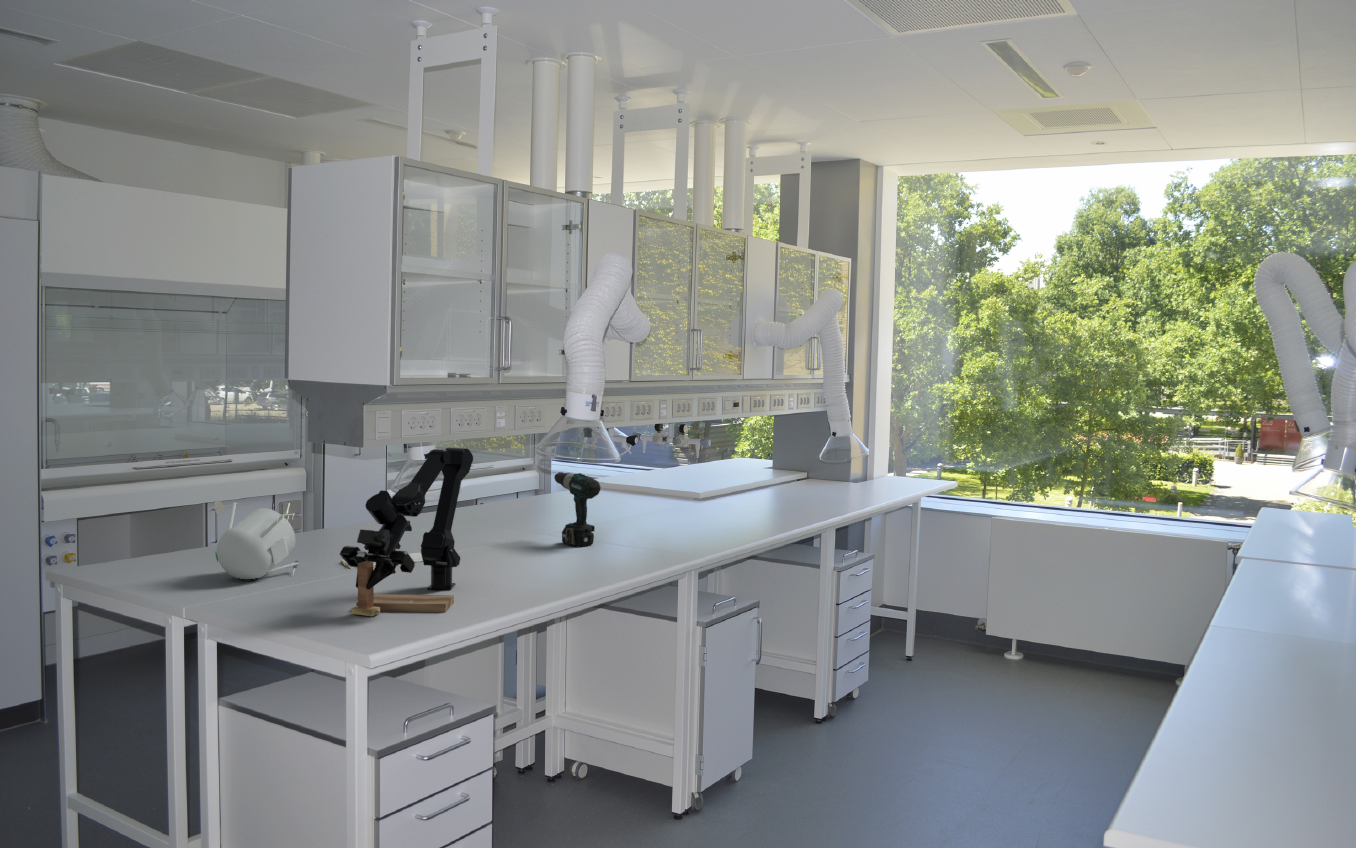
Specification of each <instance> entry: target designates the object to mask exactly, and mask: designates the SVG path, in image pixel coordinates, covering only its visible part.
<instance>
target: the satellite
mask: <svg viewBox="0 0 1356 848" xmlns="http://www.w3.org/2000/svg"><path fill="white" fill-rule="evenodd" d="M238 504H240V503H239V502H234V501H233V502H232V503H231V504H227V505H224V503H223V502H222V501H221V500H216V501H215V502H214V505H213V509H214V511H215V513H216V514H217V515H223V514H224V512H225V508H227V507H230V506H231V511H230V516H229V521H228V526H227V530H226V531H225V532H224V533H223V534H222V535H221V536H220V538H219V540H218V542H217V545H216V551H214V553H215V555H214V556H215V559H216V562H217V563H219V565H220V566H221V568H222V570H224V571H225V572H226V573H227V574H228V575H230V576H232V577H233V578H236V579H238V578H240V579H239V580H241V579H254V580H256V579H255V578H258V579H260V578H262V577H263V576H265V575H266V574H272V573H275V572H278V571H282V570H286V569H288V568H292V569H293V571H292V573H293V575H294V573H295V570H296V569H297V568H298V566H299V564H300V563H299V562H300V561H299V560H295V561H294V562H293V563H292V562H291V563H289V564H286V565H282V566H278V567H275V566H276V565H278V564H279V563H281V562H282V561H283V560H284V559H286V558H287V557H288V556H289V554H290V553H291V551H293V549H294V548H295V545H296V542H297V541H296V540H297V538H296V533H295V530H294V528H293V527H292V525H291V524H290V522H289V518H290V516H292V518H291V519H292V520H291V521H293V520H294V516H295V515H296V513H290V510H289V509H290V505H291V503H290V502H288V504H287V508H286V511H284V512H283V513H282V514H281V513H279V512H277V511H276V510H274V509H270V508H267V507H259V508H256V509H253V510H252V511H250V513H248V514H246V515H245V517H243V518H242V519H240V520H239V521H238V522H237V523H236V524H234V518H235V512H236V508H237V505H238ZM286 516H288V517H287V518H285V517H286ZM233 524H234V525H233Z"/></svg>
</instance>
